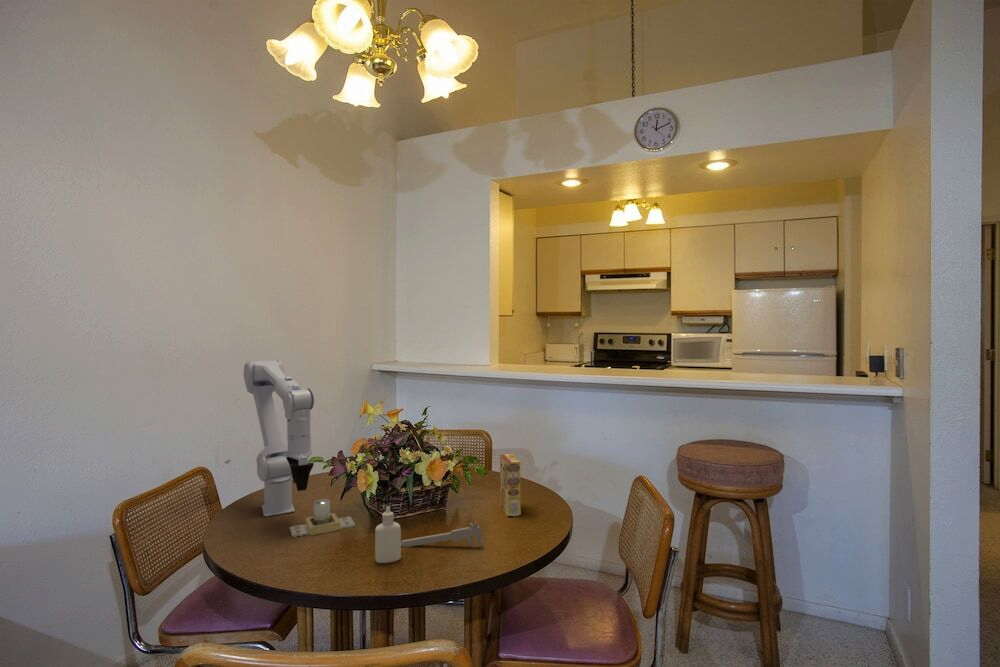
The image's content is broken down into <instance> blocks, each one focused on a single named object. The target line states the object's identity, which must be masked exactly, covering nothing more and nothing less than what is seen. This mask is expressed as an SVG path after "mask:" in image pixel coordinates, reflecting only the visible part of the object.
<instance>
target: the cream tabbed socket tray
mask: <svg viewBox="0 0 1000 667" xmlns="http://www.w3.org/2000/svg"><path fill="white" fill-rule="evenodd" d="M304 523H305V524H300V525H294V526H290V527H289V532H290V535H291V537H294V538H298V537H297V536H300V537H303V535H305V536H309V537H310V536H311V537H312V536H315V535H316V534H317V535H321V533H322V534H327V533H332V532H338V531H341V530H342V529H349V528H352V527H353V526H354V527H356V522H354V520H353V518H352V517H351V516H344V517H340V518H338V516H337V514H336V513H334V512H332V513H330V523H326V524H321V525H315V526H314V516H310V517H305V521H304Z"/></svg>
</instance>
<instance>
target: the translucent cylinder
mask: <svg viewBox="0 0 1000 667" xmlns="http://www.w3.org/2000/svg"><path fill="white" fill-rule="evenodd" d="M330 514H331V500H330V498H318V499H316V500H314V501H313V517H314V525H313V526H315V525H321V524H326V523H331V522H330Z"/></svg>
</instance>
